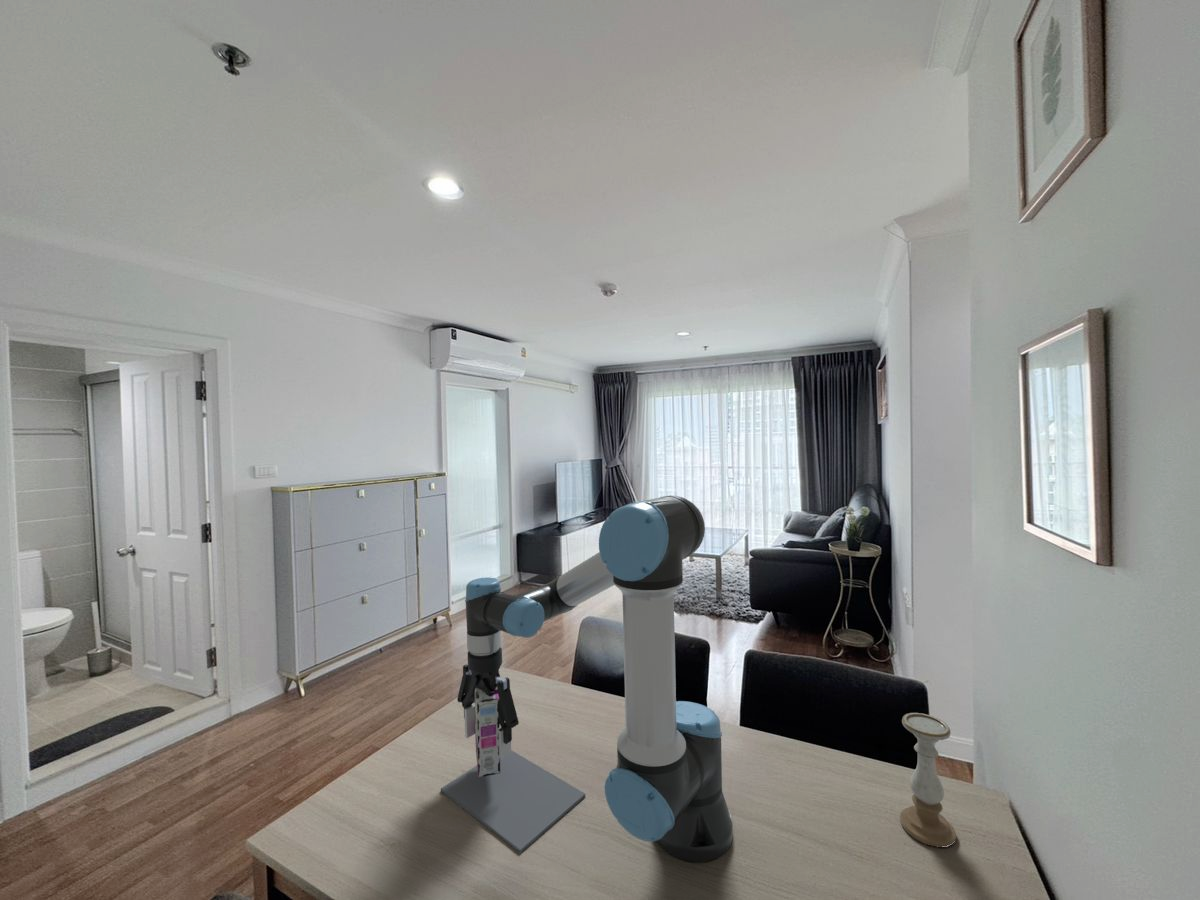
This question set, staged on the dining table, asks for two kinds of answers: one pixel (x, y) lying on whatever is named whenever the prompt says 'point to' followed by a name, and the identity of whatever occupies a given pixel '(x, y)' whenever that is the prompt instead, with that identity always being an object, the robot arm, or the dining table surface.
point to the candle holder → (927, 784)
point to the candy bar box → (487, 733)
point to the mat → (514, 799)
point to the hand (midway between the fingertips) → (487, 745)
